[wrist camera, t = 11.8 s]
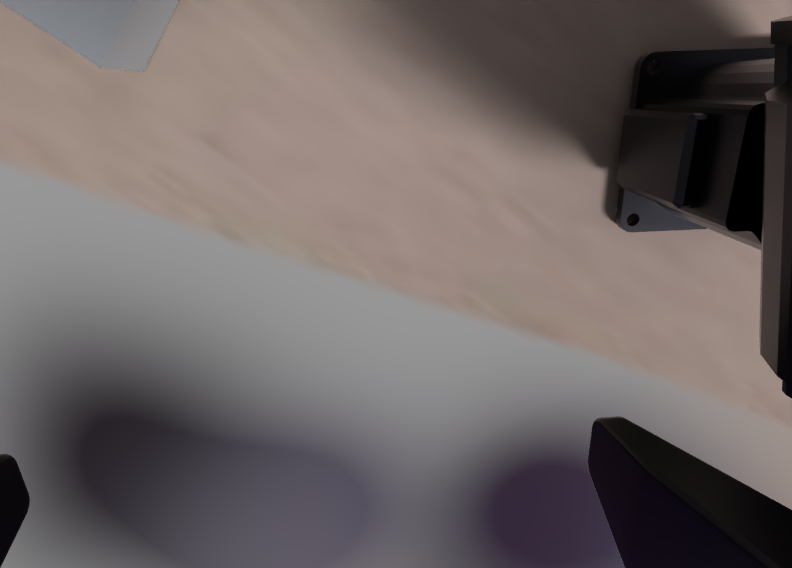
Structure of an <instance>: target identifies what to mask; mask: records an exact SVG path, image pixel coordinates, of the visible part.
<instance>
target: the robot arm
mask: <svg viewBox="0 0 792 568" xmlns="http://www.w3.org/2000/svg"><path fill="white" fill-rule="evenodd" d="M770 44H775V48H757V49H727V50H697V51H667V52H652V53H647V54H644V55H643V56H642V57H640V59H639V60H638V61H637V63H636V66H635V72H634V79H633V87H632V95H631V103H630V110H629V111H628V113H627V114H626V115H625V116H624V122H623V130H622V138H621V146H620V154H619V162H618V170H617V178H616V181H617V183H618V184H619V185H620V190H619V197H618V205H617V213H616V223H617V225H618V227H620V228H621V229H623V230H625V231H627V232H647V231H668V230H689V229H710V230H713V231H715V232H718V233H720V234H723V235H725V236H728V237H730V238H732V239H735V240H737V241H740V242H742V243H745V244H747V245H750V246H752V247H754V248H757V249H759V250H761V294H760V353H761V355H762V357H763V358H764V359H765V361H766V362H767V363H768V365H769V366H770V367H771V369H772V370H773V371H774V373H775V374H776V375H777V376H778V377H779V378H780V379H782V380H783V381H782V391H783V392H784V393H785V394H786V395H787V396H789V397H790V398H792V16H789V17H786V18H782V19H778V20H774V21H771V43H770ZM651 61H653V62H654V63H655V67H656V68H655V70H654V72H653V73H652V74H651V75H650V74H649V73H648V71H647V67H648V64H649V63H650V62H651ZM633 213H634V220H633V221H632V222H631V223H628V224H627V218H628V216H629V215H630V214H633ZM588 468H589V472H590V476H591V479H592V481H593V484H594V487H595V490H596V492H597V495H598V497H599V500H600V503H601V505H602V508H603V511H604V514H605V516H606V519H607V522H608V524H609V527H610V529H611V532H612V535H613V538H614V540H615V543H616V546H617V548H618V551H619V554H620V556H621V558H622V561H623V564H624V566H625V568H792V510H791V509H789V508H787V507H785V506H783V505H782V504H780V503H778V502H776V501H774V500H772V499H770V498H769V497H767V496H765V495H763V494H762V493H760V492H758V491H756V490H754V489H752V488H751V487H749V486H747V485H745V484H743V483H742V482H740V481H738V480H736V479H734V478H732V477H731V476H729V475H727V474H725V473H723V472H722V471H720V470H718V469H716V468H714V467H712V466H711V465H709V464H707V463H705V462H703V461H701V460H700V459H698V458H696V457H694V456H692V455H691V454H689V453H687V452H685V451H683V450H682V449H680V448H678V447H676V446H674V445H672V444H671V443H669V442H667V441H665V440H663V439H661V438H660V437H658V436H656V435H654V434H652V433H651V432H649V431H647V430H645V429H643V428H642V427H640V426H638V425H636V424H634V423H632V422H630V421H628V420H627V419H625V418H623V417H602V418H597V419H596V420H595V421H594V423H593V426H592V432H591V440H590V448H589V456H588ZM29 503H30V498H29V493H28V490H27V488H26V485H25V482H24V480H23V477H22V474H21V472H20V469H19V467H18V464H17V462H16V460H15V459H14V458H13V457H12V456H11V455H7V454H0V567H1V565H2V563H3V561H4V559H5V557H6V555H7V553H8V551H9V549H10V547H11V545H12V543H13V541H14V539H15V537H16V535H17V533H18V530H19V529H20V527H21V524H22V522H23V520H24V518H25V516H26V514H27V512H28V508H29Z"/></svg>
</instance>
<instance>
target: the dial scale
mask: <svg viewBox="0 0 792 568" xmlns="http://www.w3.org/2000/svg"><path fill="white" fill-rule="evenodd" d="M0 2H1V3H2V4H4V5H5V6H7V7H8V8H10V9H11V10H13V11H14V12H16V13H17V14H19V15H20V16H22V17H24V18H25V19H27V20H28V21H30V22H31V23H33V24H34V25H36V26H37V27H39V28H40V29H42V30H43V31H45V32H47V33H48V34H50V35H51V36H53V37H54V38H56V39H57V40H59V41H60V42H62V43H63V44H65V45H66V46H68V47H70V48H71V49H73V50H74V51H76V52H77V53H79V54H80V55H82V56H83V57H85V58H86V59H88V60H90V61H91V62H93V63H94V64H96V65H97V66H99V67H100V68H105V69H118V70H130V71H143V72H144V70H145V68H146V66H147V64H148V62H149V60H150V58H151V56H152V54H153V52H154V50H155V48H156V46H157V44H158V42H159V40H160V38H161V36H162V34H163V32H164V30H165V28H166V26H167V24H168V22H169V20H170V18H171V16H172V14H173V12H174V10H175V8H176V6H177V4H178V2H179V0H0Z"/></svg>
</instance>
